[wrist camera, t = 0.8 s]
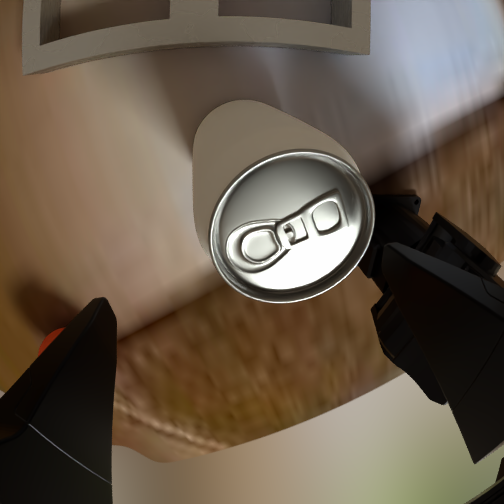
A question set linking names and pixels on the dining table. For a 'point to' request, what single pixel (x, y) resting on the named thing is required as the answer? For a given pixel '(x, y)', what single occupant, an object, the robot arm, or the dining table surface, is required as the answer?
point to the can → (277, 203)
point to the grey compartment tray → (188, 33)
